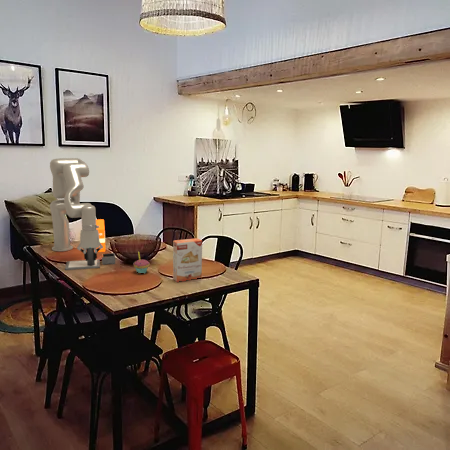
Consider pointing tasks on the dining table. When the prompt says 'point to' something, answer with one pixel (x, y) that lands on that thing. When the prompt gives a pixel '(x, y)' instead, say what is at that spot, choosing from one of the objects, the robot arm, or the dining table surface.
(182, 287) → the dining table surface
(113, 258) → the grey square block
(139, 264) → the cupcake
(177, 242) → the cracker box
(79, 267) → the writing board
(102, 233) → the orange juice
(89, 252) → the marker
